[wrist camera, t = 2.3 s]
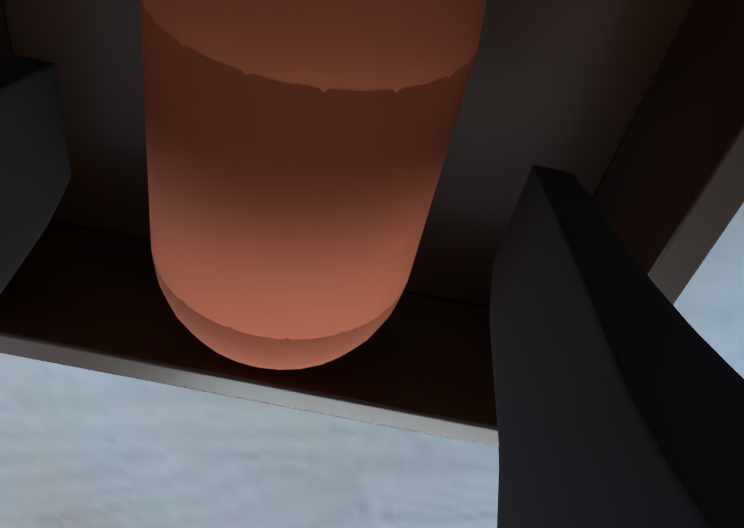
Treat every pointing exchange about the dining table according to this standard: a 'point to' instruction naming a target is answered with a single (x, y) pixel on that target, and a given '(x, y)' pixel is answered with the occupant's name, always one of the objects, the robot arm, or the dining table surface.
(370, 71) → the sweet potato
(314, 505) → the dining table surface
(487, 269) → the dark wooden tray
